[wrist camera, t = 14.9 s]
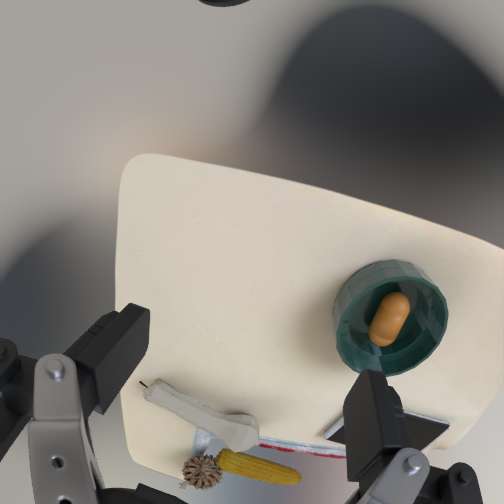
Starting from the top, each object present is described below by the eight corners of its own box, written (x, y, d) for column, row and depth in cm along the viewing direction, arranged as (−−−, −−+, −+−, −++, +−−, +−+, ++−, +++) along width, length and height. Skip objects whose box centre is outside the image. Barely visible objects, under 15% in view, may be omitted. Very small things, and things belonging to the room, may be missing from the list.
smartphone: (411, 454, 52) (412, 459, 50) (321, 433, 51) (321, 439, 50) (450, 421, 47) (452, 426, 45) (362, 394, 46) (363, 401, 45)
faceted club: (252, 439, 53) (142, 388, 55) (270, 411, 53) (153, 357, 54) (248, 466, 44) (123, 408, 46) (268, 438, 44) (134, 375, 45)
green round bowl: (395, 235, 37) (410, 249, 31) (448, 308, 39) (464, 328, 33) (310, 309, 42) (310, 332, 37) (372, 368, 44) (378, 392, 39)
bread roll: (383, 282, 39) (391, 297, 35) (409, 290, 39) (419, 304, 34) (361, 331, 42) (365, 349, 38) (386, 337, 42) (392, 354, 37)
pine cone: (197, 438, 57) (184, 471, 48) (235, 453, 58) (227, 487, 48) (174, 468, 65) (163, 495, 56) (206, 481, 65) (197, 508, 56)
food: (216, 451, 58) (211, 470, 53) (224, 441, 56) (219, 461, 51) (296, 474, 58) (295, 493, 53) (308, 466, 56) (307, 485, 51)
